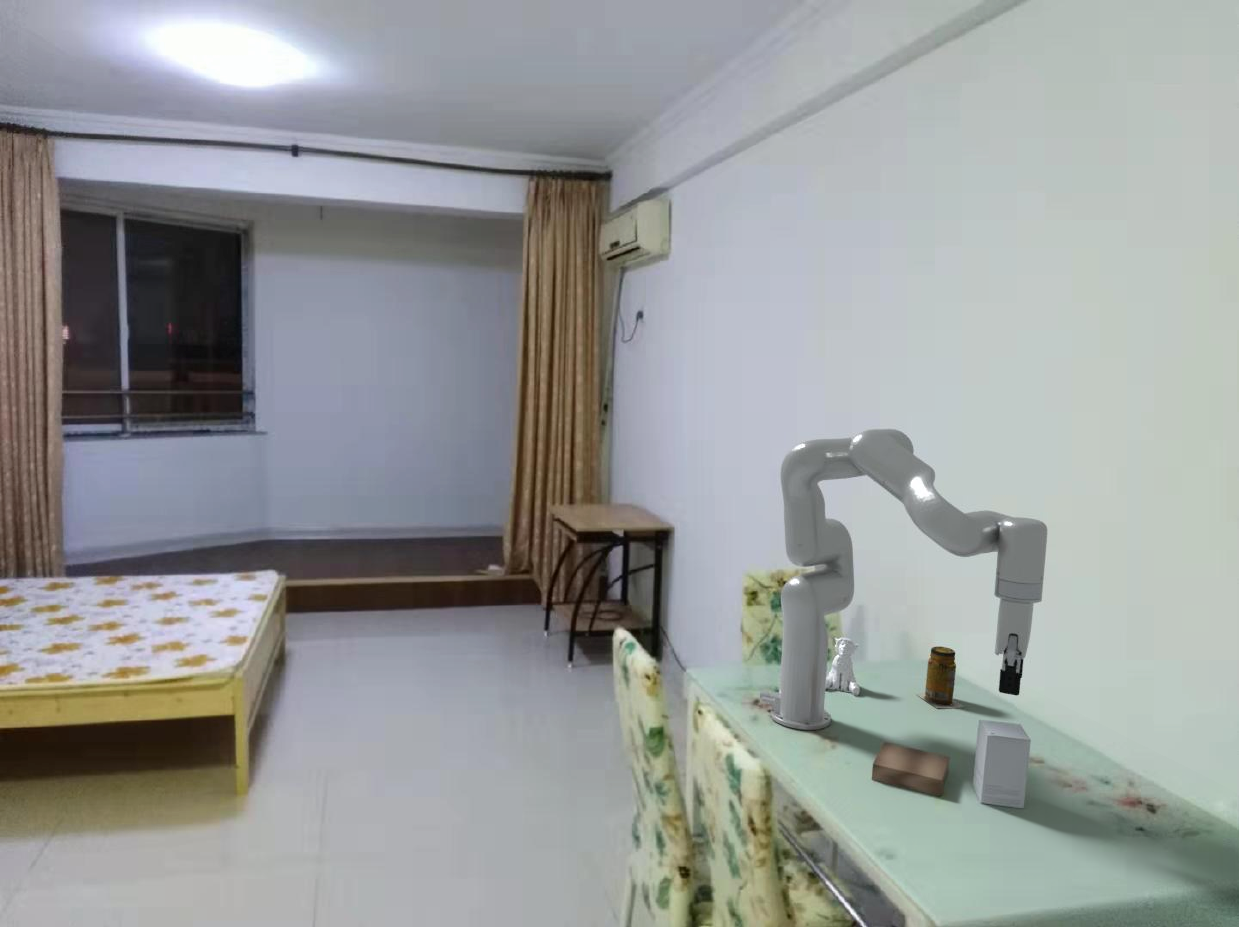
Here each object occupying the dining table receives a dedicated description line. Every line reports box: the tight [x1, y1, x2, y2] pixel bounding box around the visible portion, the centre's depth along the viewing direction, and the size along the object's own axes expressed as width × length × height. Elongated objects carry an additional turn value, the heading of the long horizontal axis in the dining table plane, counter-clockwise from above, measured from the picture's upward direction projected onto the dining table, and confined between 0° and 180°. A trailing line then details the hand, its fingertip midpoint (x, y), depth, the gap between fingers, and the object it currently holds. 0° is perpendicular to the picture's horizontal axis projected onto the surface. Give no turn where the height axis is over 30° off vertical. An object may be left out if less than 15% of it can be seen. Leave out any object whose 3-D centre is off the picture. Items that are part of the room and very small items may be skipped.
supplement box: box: [972, 719, 1032, 809], centre depth 156 cm, size 7×7×13 cm
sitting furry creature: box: [825, 637, 861, 697], centre depth 207 cm, size 10×9×12 cm
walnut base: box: [871, 742, 950, 797], centre depth 163 cm, size 12×11×3 cm
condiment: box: [916, 646, 965, 709], centre depth 201 cm, size 7×8×12 cm
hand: (1010, 684), depth 154 cm, fingers open, 9 cm apart
